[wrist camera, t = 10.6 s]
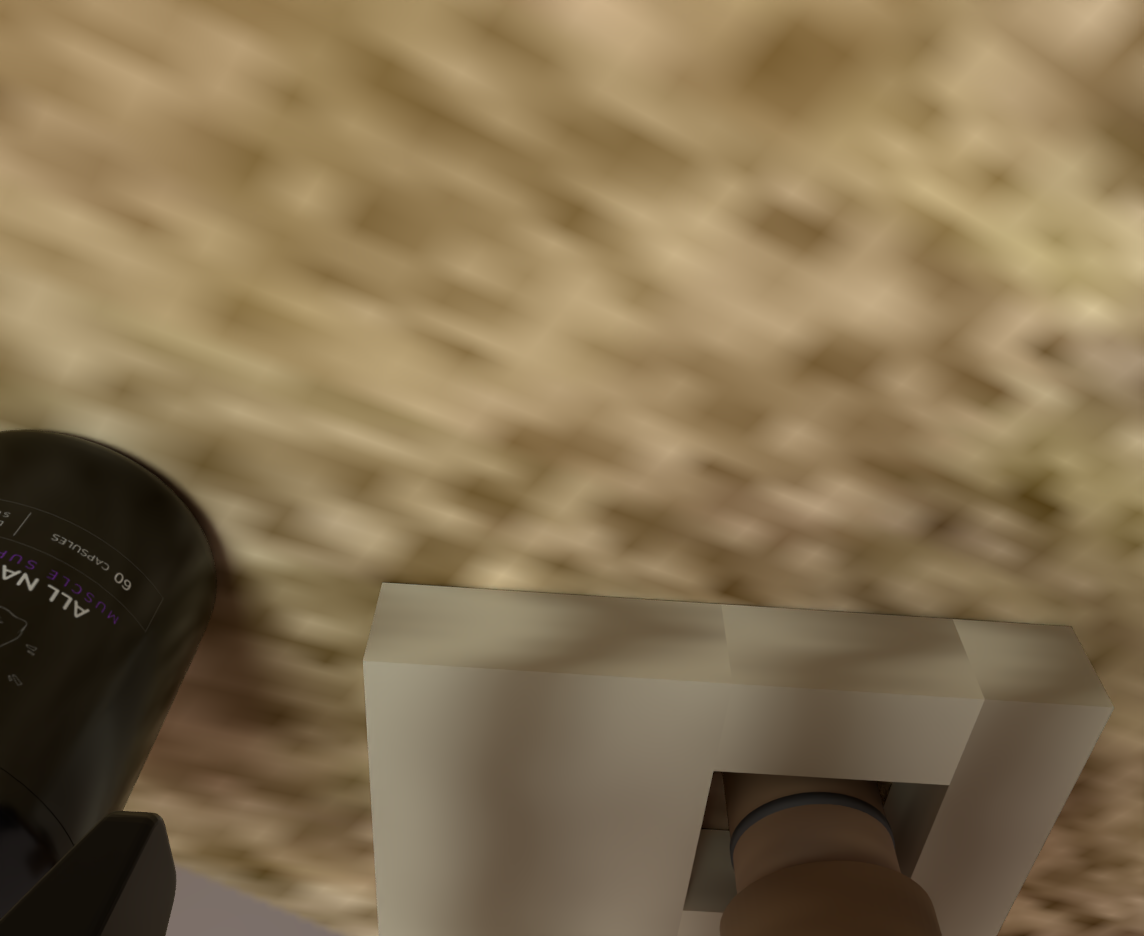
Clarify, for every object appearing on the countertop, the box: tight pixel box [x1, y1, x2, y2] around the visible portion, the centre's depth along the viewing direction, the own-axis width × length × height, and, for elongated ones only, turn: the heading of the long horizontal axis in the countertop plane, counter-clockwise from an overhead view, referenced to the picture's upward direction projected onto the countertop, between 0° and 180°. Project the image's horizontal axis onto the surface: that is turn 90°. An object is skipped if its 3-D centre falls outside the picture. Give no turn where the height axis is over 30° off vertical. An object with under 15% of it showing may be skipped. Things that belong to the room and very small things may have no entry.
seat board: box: [363, 583, 1114, 936], centre depth 27 cm, size 16×11×2 cm
